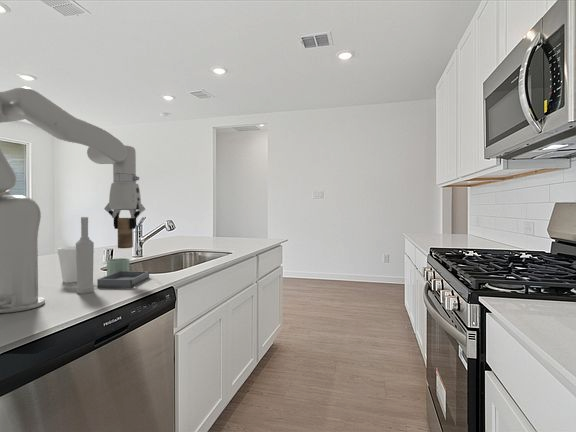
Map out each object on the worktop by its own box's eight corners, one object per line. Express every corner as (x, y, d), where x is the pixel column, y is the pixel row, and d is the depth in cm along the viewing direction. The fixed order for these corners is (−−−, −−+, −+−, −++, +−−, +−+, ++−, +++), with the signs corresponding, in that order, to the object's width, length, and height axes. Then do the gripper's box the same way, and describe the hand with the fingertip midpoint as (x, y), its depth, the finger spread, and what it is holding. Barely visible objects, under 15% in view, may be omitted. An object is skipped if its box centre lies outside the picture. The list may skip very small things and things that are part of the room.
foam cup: (93, 279, 131) (92, 246, 131) (75, 285, 122) (75, 249, 122) (70, 278, 132) (70, 245, 132) (51, 284, 123) (51, 248, 123)
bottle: (72, 292, 112) (71, 217, 111) (86, 289, 116) (85, 216, 116) (83, 294, 110) (83, 217, 109) (97, 290, 115) (97, 217, 114)
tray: (131, 288, 119) (131, 279, 118) (97, 287, 119) (97, 279, 118) (149, 279, 134) (149, 271, 133) (118, 278, 134) (118, 271, 133)
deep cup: (123, 277, 135) (123, 261, 135) (102, 277, 135) (102, 261, 135) (132, 273, 143) (132, 258, 143) (113, 273, 143) (113, 258, 143)
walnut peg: (134, 247, 126) (134, 218, 125) (120, 248, 122) (120, 218, 122) (129, 246, 129) (129, 217, 129) (115, 247, 126) (115, 217, 125)
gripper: (151, 180, 129) (152, 228, 129) (107, 180, 129) (107, 227, 129) (143, 179, 121) (143, 229, 122) (95, 178, 121) (96, 229, 122)
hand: (125, 228), depth 126 cm, fingers closed on walnut peg, 5 cm apart
